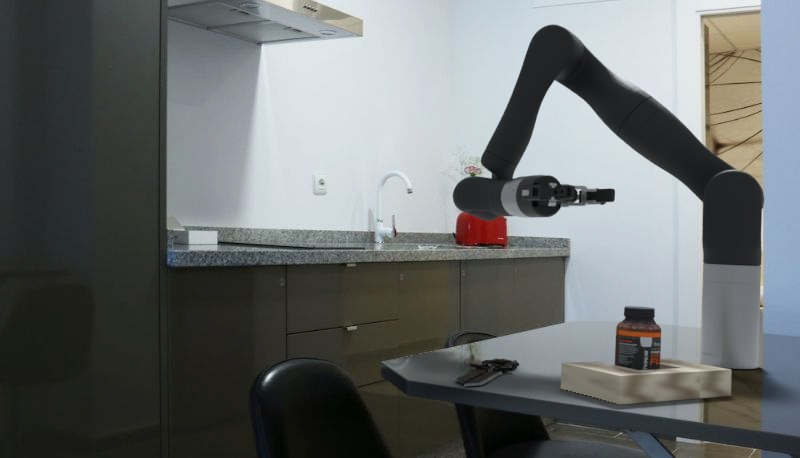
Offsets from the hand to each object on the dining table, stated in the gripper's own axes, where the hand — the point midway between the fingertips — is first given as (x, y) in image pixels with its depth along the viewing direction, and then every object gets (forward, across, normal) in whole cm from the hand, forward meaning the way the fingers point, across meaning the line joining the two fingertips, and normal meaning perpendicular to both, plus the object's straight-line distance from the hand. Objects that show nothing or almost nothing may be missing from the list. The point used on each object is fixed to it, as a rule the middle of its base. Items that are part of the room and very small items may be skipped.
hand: (593, 193), depth 135 cm
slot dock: (+22, -9, +28) cm, 36 cm away
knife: (+3, -22, +29) cm, 36 cm away
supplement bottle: (+20, -9, +28) cm, 36 cm away
